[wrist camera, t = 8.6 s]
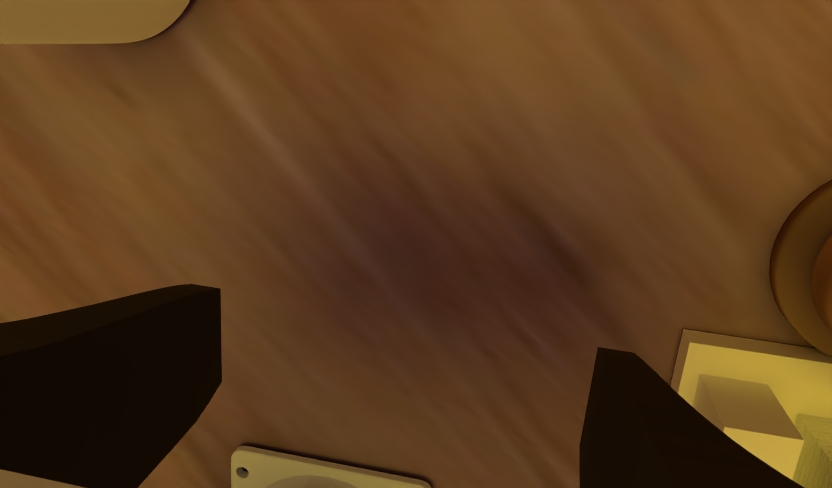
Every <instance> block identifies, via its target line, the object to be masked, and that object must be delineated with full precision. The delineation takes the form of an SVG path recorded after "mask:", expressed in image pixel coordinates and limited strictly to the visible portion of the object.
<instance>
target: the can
mask: <svg viewBox="0 0 832 488" xmlns="http://www.w3.org/2000/svg"><path fill="white" fill-rule="evenodd" d="M189 2H190V0H0V44H112V43H130V42H136V41H141V40H145V39H148V38H150V37H152V36H155V35H157V34H158V33H160V32H162V31H163V30H165V29H166V28H168V27H169V26H170V25H171V24H172V23H173V22H174V21H175V20H176V19H177V18H178V17H179V16H180V15H181V14H182V12H183V11H184V10H185V8H186V7H187V5H188V3H189Z"/></svg>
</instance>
